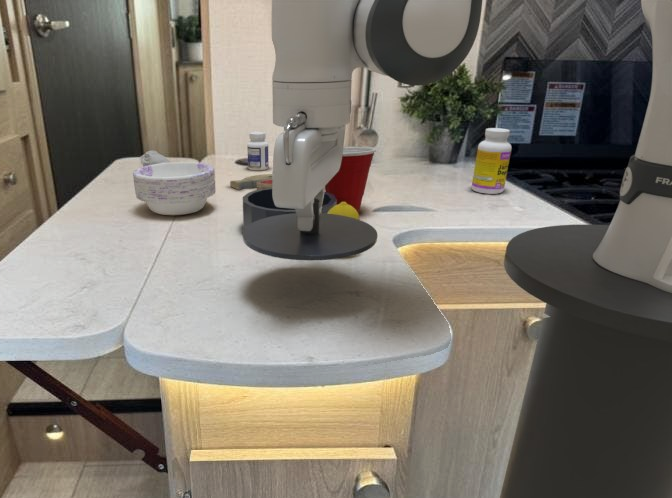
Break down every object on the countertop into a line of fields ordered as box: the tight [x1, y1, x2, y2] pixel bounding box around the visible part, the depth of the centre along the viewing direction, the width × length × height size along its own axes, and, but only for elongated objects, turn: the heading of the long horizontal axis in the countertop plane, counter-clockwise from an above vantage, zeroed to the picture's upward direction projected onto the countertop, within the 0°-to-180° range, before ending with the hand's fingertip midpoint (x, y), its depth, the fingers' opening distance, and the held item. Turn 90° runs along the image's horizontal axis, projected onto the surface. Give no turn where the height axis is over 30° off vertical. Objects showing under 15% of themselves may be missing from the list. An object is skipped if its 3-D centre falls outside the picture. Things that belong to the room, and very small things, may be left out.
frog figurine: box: [139, 149, 171, 167], centre depth 125 cm, size 6×7×7 cm
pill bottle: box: [246, 131, 270, 171], centre depth 137 cm, size 5×5×9 cm
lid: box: [242, 198, 378, 262], centre depth 68 cm, size 17×17×5 cm
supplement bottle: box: [471, 127, 513, 195], centre depth 115 cm, size 7×7×13 cm
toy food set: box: [229, 173, 273, 191], centre depth 124 cm, size 26×16×4 cm, turn 135°
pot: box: [242, 188, 337, 230], centre depth 94 cm, size 16×16×5 cm
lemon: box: [327, 202, 361, 220], centre depth 82 cm, size 6×6×8 cm
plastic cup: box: [325, 146, 377, 213], centre depth 101 cm, size 11×11×12 cm
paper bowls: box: [132, 161, 216, 216], centre depth 104 cm, size 15×15×8 cm
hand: (309, 224), depth 68 cm, fingers closed on lid, 2 cm apart
